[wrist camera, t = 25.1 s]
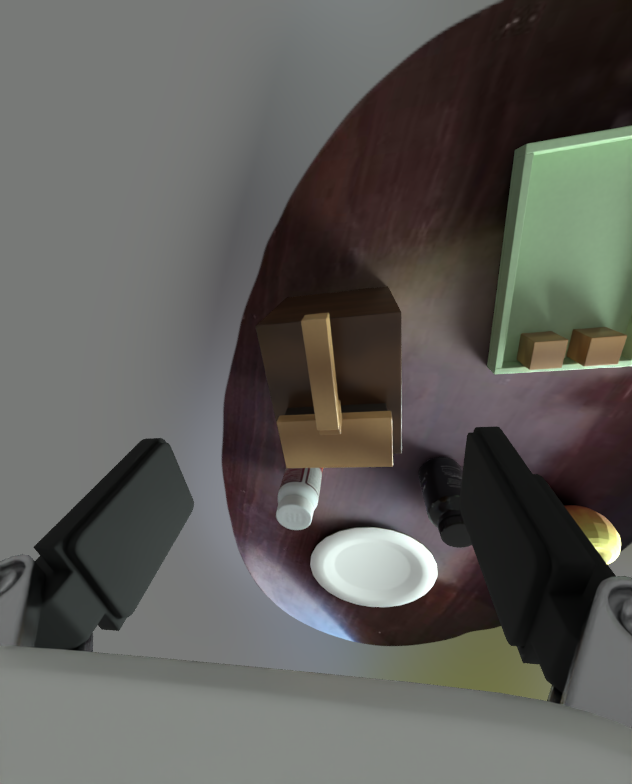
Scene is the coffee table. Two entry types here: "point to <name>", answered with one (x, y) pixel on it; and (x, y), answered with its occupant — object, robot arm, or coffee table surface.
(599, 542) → the apple
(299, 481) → the pill bottle
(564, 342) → the cork block
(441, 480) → the supplement bottle
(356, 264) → the coffee table surface
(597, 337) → the brown cube
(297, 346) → the stand
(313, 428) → the brush
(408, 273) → the coffee table surface
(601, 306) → the tray
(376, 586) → the plate
